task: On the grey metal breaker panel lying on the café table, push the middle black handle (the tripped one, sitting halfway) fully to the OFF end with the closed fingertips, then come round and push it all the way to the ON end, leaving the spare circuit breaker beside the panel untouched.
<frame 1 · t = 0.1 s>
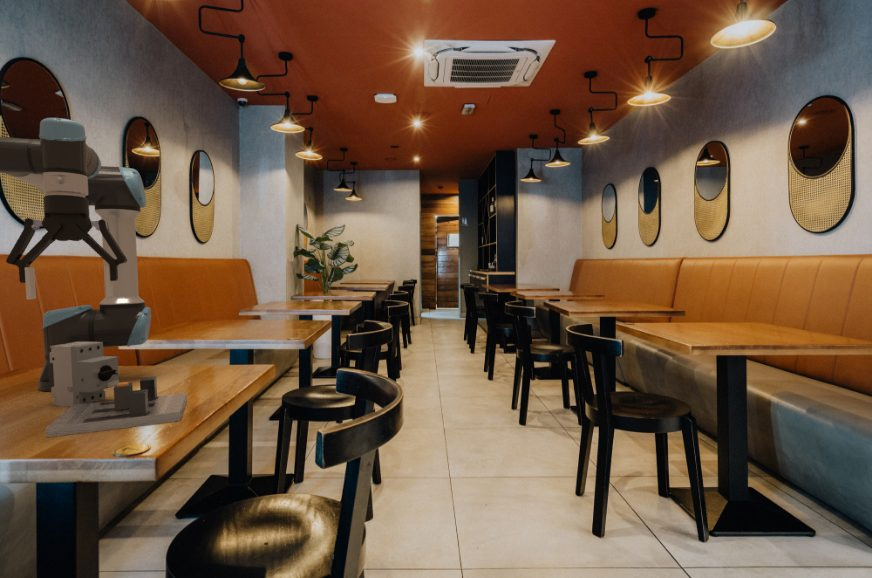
hand: (71, 297, 102), 28 cm above the table, fingers open, 13 cm apart
breaker panel: (124, 417, 110), on the table
circuit breaker: (89, 403, 124), on the table
tripped toggle: (123, 395, 110), point 5 cm above the table, slide at 0.0 cm
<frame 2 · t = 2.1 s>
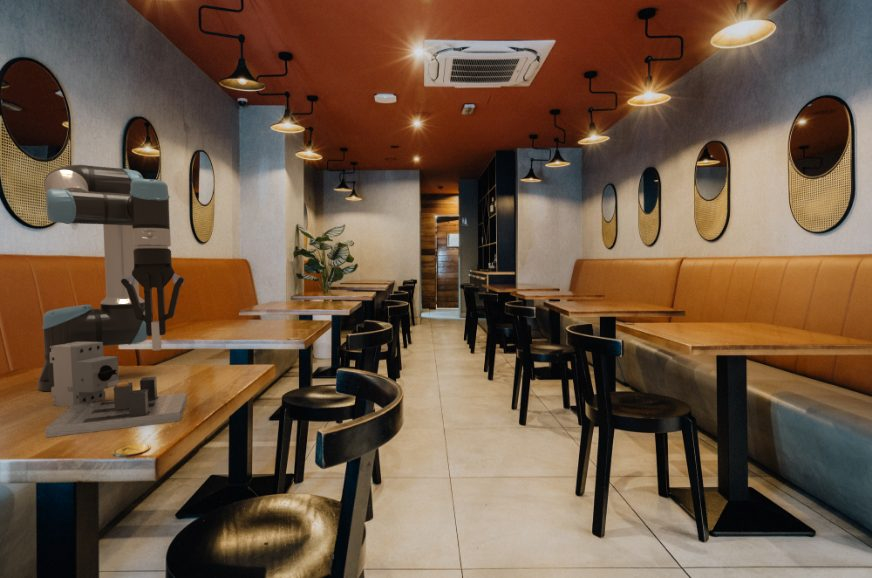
hand: (157, 349, 112), 15 cm above the table, fingers closed
nothing on the table moved.
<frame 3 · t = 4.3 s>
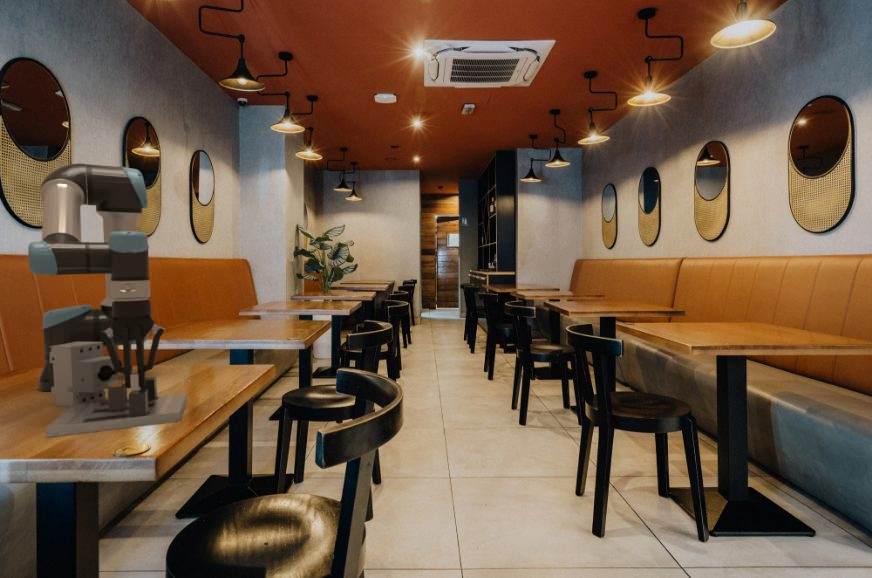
hand: (136, 401, 111), 3 cm above the table, fingers closed
tripped toggle: (117, 395, 110), point 5 cm above the table, slide at -1.1 cm, touching gripper
everything else where it was.
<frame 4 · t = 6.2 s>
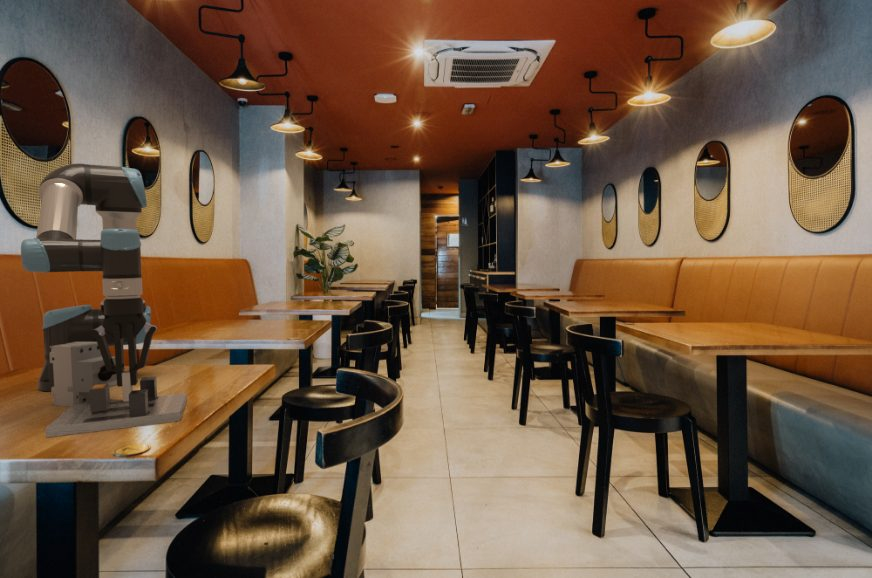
hand: (128, 399, 111), 4 cm above the table, fingers closed
tripped toggle: (99, 397, 108), point 5 cm above the table, slide at -4.5 cm
everything else where it was.
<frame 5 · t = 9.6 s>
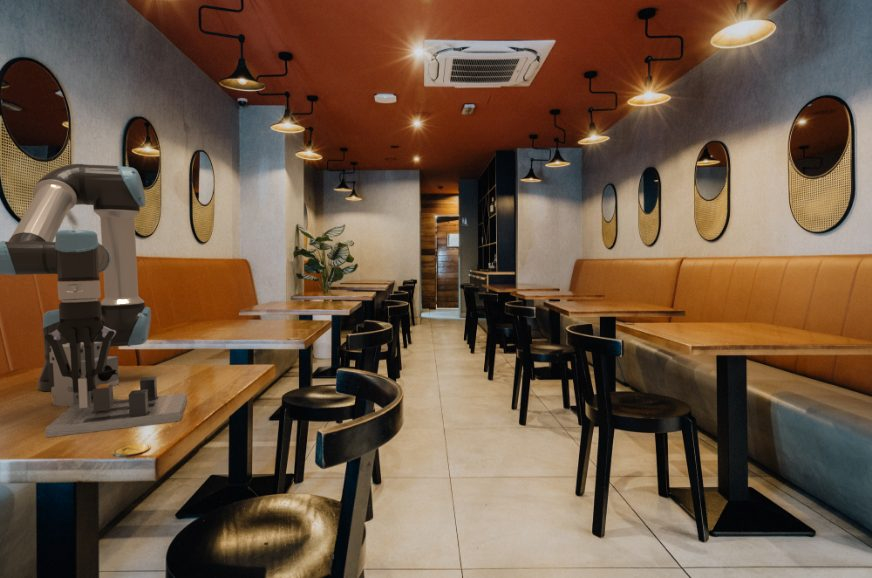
hand: (85, 406, 107), 3 cm above the table, fingers closed
tripped toggle: (103, 397, 109), point 5 cm above the table, slide at -3.9 cm, touching gripper
everything else where it was.
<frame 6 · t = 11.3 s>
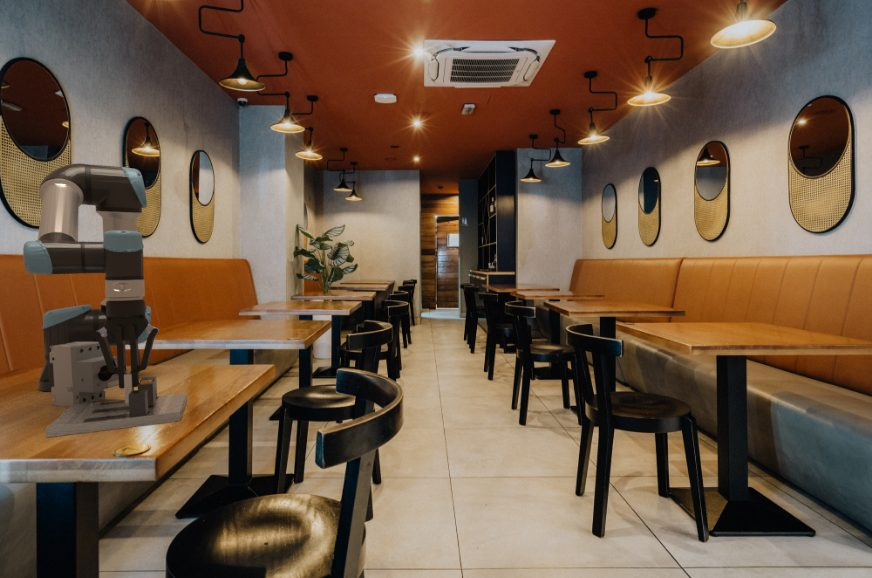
hand: (129, 401, 111), 3 cm above the table, fingers closed
tripped toggle: (146, 392, 112), point 5 cm above the table, slide at 4.6 cm, touching gripper
everything else where it was.
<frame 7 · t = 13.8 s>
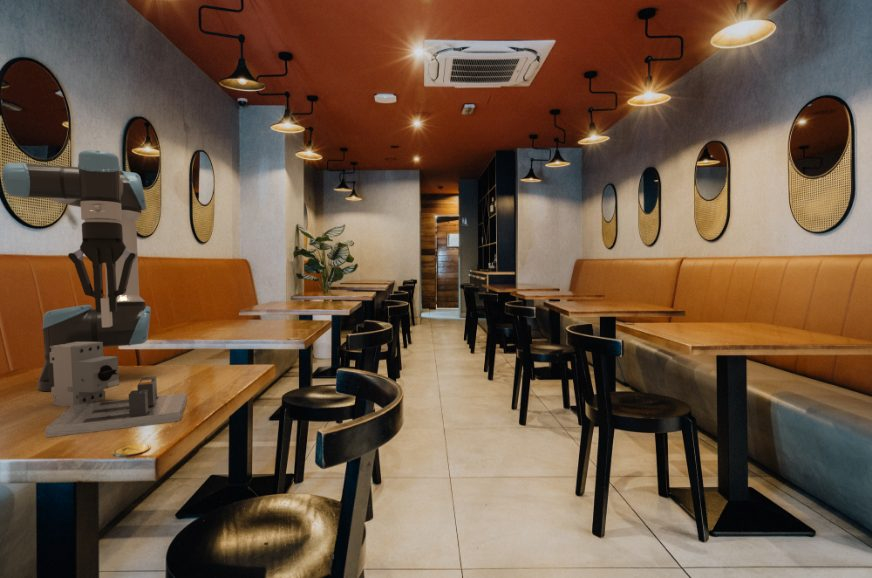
hand: (107, 326, 110), 21 cm above the table, fingers closed
tripped toggle: (146, 392, 112), point 5 cm above the table, slide at 4.5 cm
everything else where it was.
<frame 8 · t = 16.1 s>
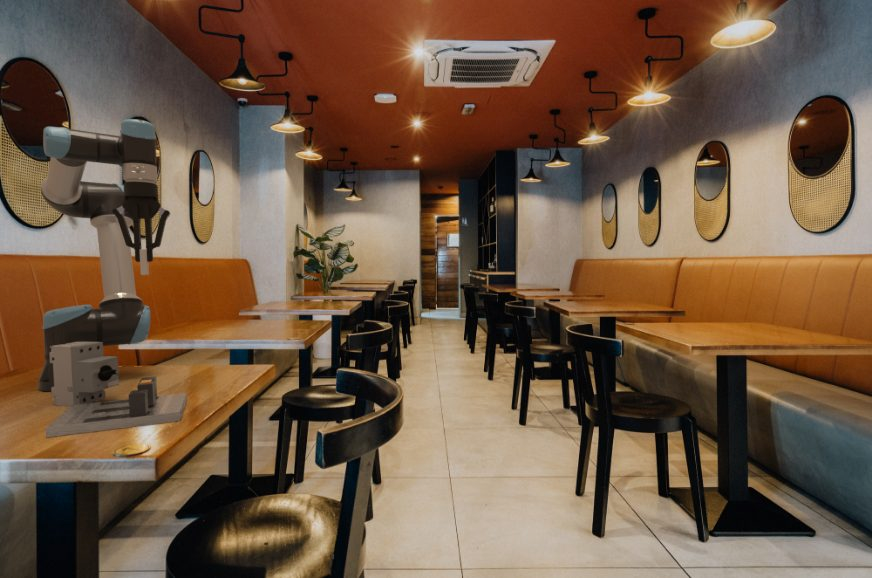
hand: (144, 274, 125), 32 cm above the table, fingers closed
nothing on the table moved.
at the end: tripped toggle slide at 4.5 cm; circuit breaker moved 0.2 cm from its start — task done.
